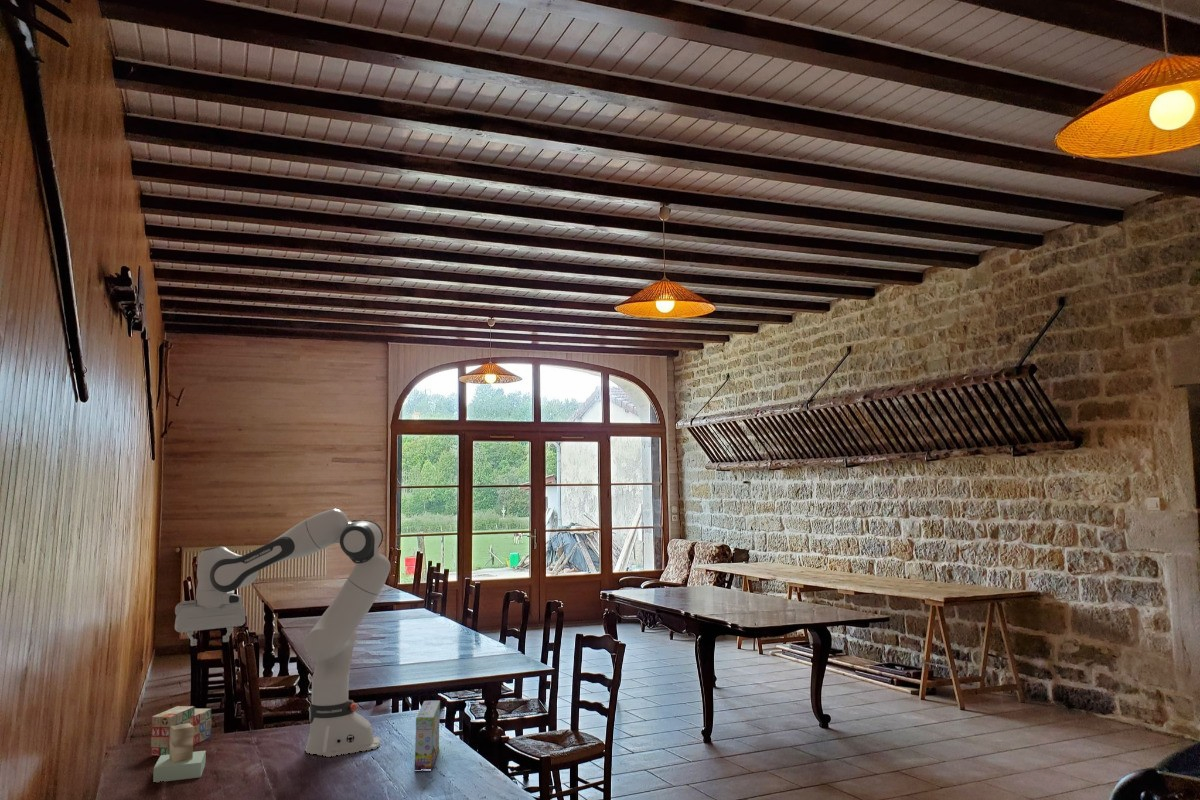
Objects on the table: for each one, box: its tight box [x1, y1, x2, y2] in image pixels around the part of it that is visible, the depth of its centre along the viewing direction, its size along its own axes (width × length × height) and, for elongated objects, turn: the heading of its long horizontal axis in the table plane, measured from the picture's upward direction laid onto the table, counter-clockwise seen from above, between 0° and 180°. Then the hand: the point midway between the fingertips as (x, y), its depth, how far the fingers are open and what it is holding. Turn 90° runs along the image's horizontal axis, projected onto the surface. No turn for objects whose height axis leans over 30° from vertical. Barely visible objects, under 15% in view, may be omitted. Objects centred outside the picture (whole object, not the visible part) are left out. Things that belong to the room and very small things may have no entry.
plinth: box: [152, 750, 207, 783], centre depth 240 cm, size 12×12×4 cm
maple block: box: [169, 723, 194, 763], centre depth 241 cm, size 5×5×9 cm
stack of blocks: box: [150, 705, 212, 756], centre depth 266 cm, size 21×6×12 cm, turn 171°
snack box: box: [414, 700, 441, 770], centre depth 248 cm, size 21×6×15 cm, turn 6°
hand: (209, 643), depth 262 cm, fingers open, 8 cm apart
